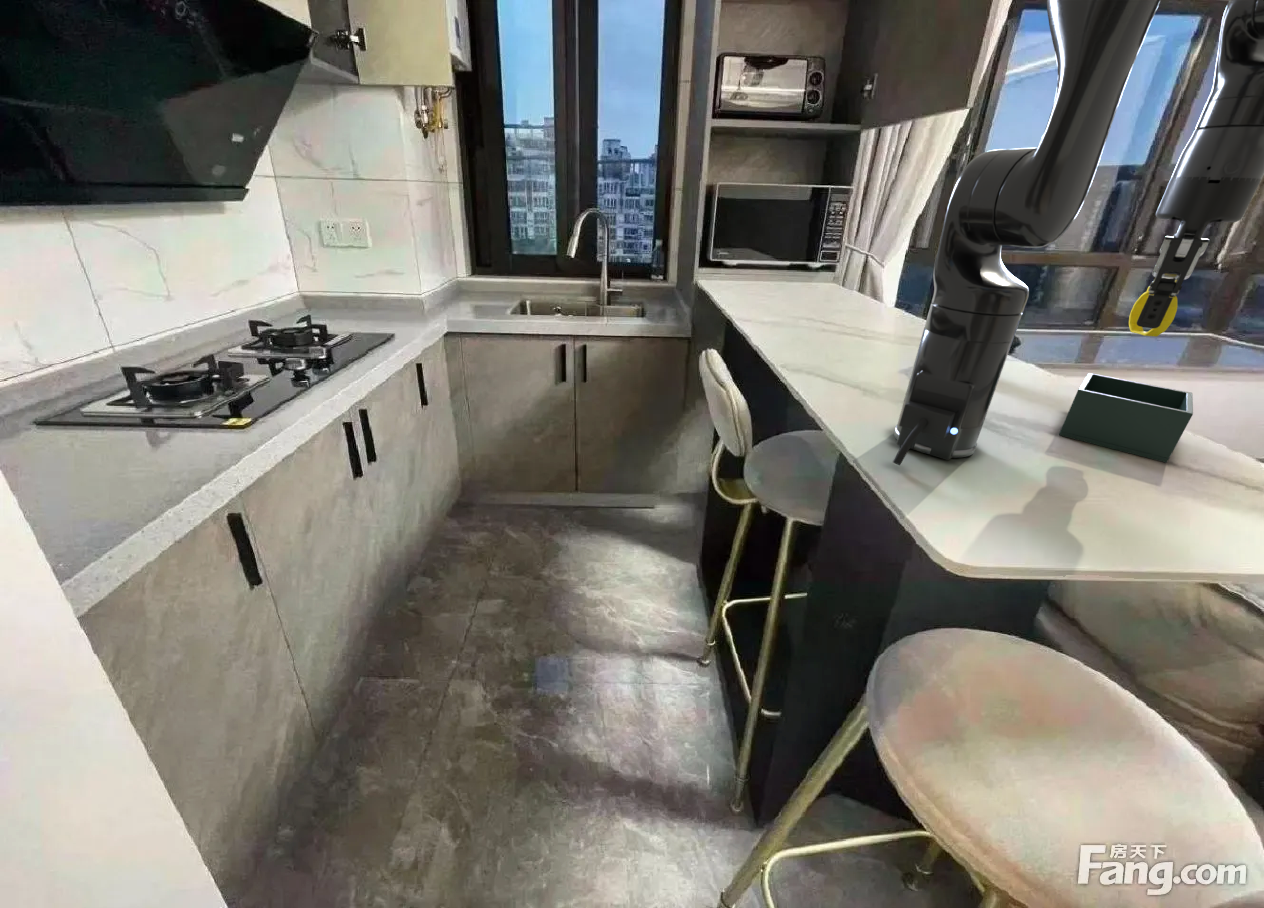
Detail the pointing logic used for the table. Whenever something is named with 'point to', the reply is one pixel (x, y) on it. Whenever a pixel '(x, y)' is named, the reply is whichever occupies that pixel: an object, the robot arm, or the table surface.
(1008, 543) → the table surface
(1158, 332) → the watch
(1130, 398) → the waste bin
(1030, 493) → the table surface
